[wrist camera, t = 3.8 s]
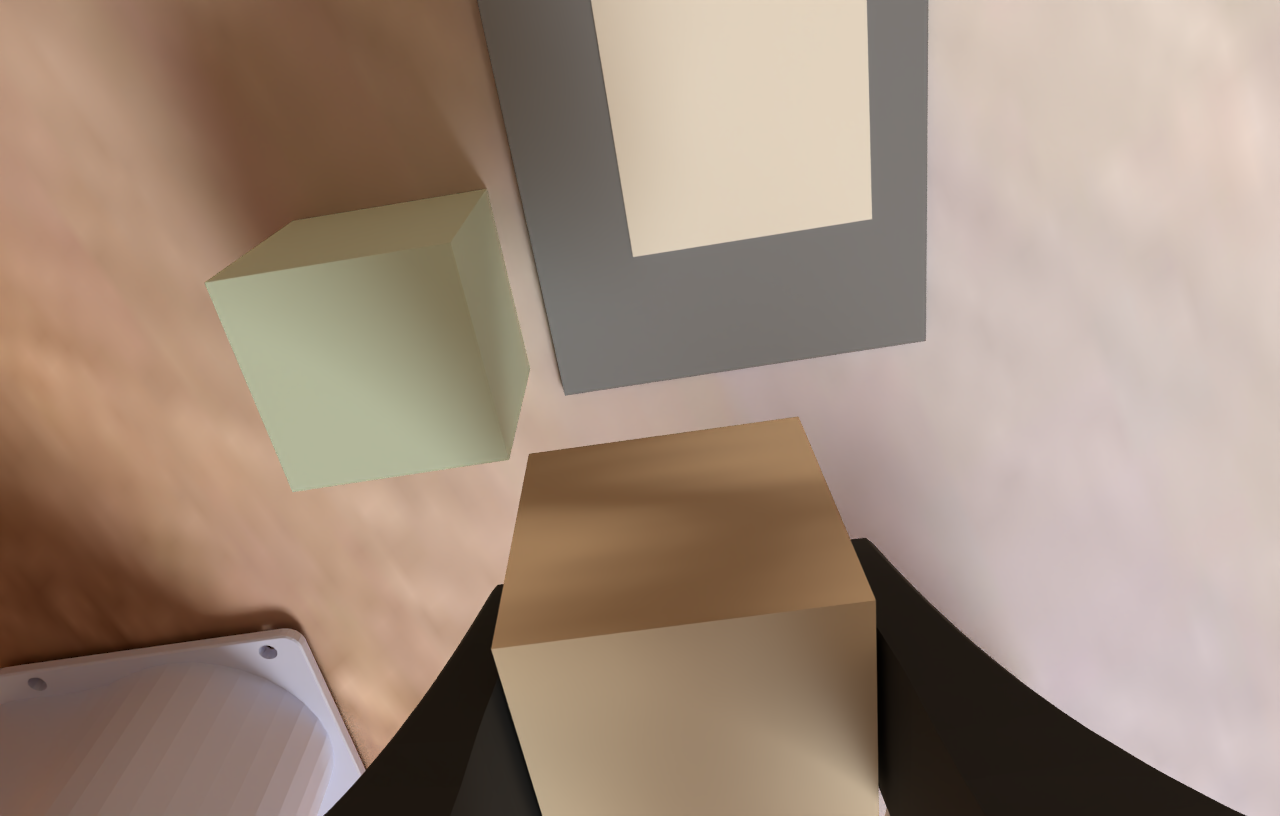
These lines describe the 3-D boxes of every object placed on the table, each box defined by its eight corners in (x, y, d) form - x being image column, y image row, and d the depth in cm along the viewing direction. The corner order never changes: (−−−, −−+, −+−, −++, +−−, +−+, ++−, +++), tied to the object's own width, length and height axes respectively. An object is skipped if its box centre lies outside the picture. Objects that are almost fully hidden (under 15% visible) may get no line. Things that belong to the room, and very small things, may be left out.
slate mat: (565, 391, 20) (564, 396, 20) (465, -59, 16) (463, -60, 16) (923, 337, 20) (926, 341, 20) (925, -142, 15) (929, -144, 15)
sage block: (355, 394, 20) (292, 492, 16) (293, 219, 18) (204, 283, 14) (530, 367, 20) (509, 459, 16) (487, 187, 18) (451, 242, 14)
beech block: (577, 653, 16) (562, 883, 12) (529, 454, 13) (490, 649, 9) (811, 623, 15) (879, 847, 11) (798, 416, 13) (876, 600, 9)
